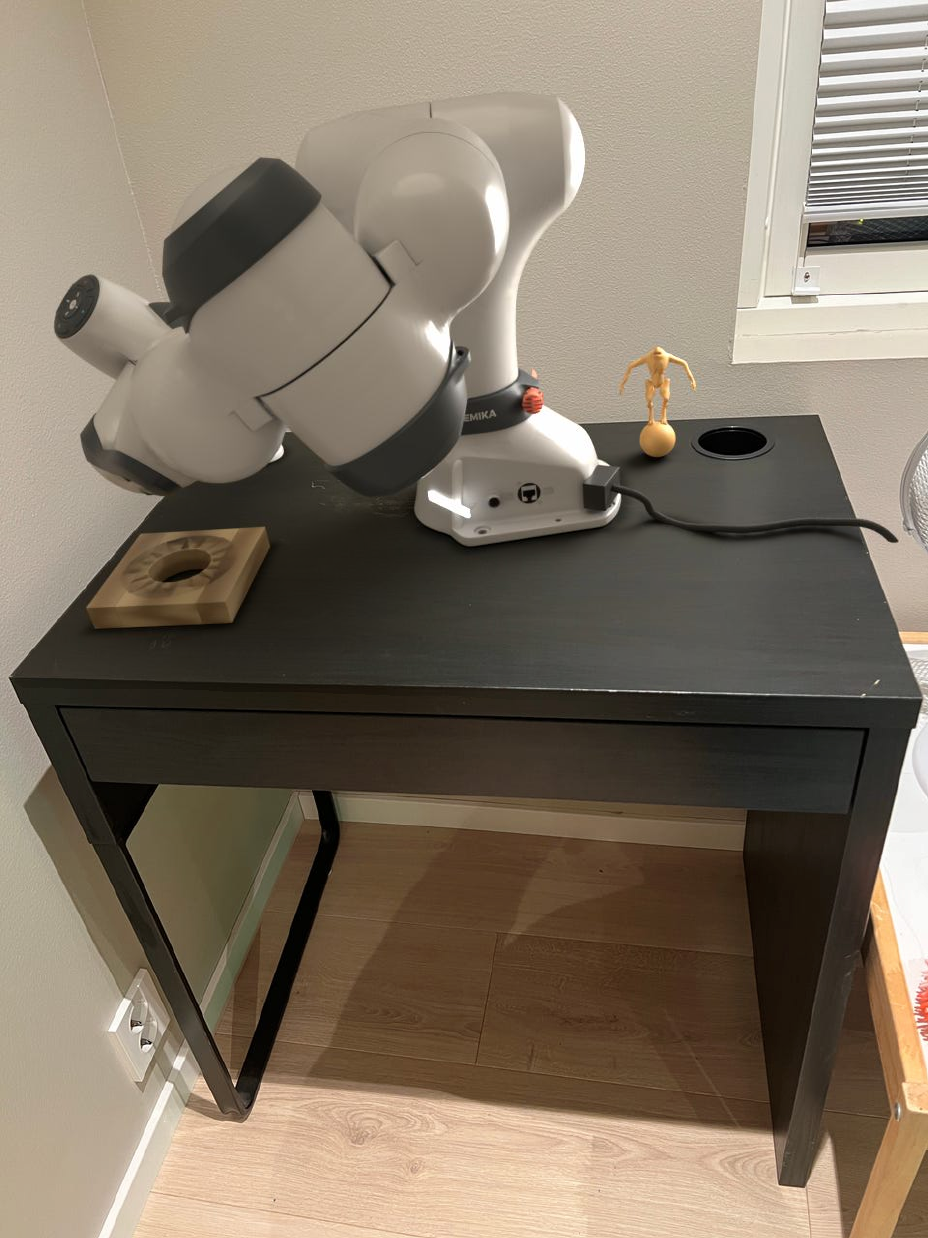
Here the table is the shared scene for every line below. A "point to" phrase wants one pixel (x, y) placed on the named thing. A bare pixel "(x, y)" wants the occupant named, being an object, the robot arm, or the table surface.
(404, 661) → the table surface
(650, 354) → the figurine
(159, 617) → the socket pad
